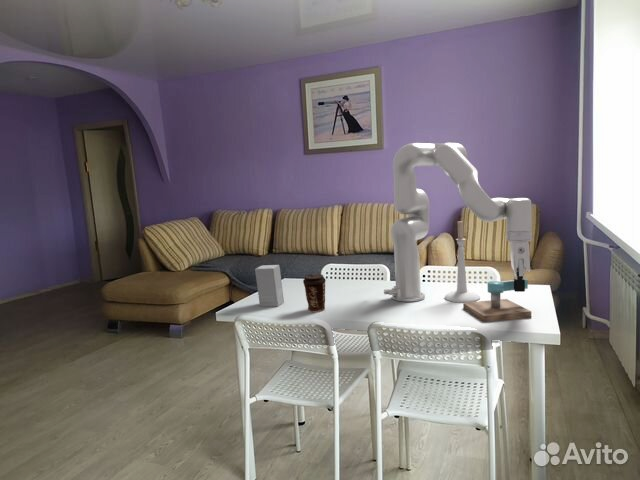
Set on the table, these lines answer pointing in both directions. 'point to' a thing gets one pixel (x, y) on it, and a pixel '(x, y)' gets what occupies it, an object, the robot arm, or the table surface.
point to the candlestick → (461, 275)
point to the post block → (496, 309)
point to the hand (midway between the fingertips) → (519, 290)
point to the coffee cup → (315, 292)
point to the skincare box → (269, 285)
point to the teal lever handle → (502, 286)
